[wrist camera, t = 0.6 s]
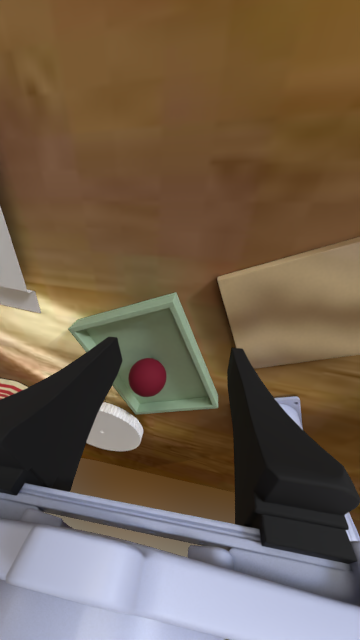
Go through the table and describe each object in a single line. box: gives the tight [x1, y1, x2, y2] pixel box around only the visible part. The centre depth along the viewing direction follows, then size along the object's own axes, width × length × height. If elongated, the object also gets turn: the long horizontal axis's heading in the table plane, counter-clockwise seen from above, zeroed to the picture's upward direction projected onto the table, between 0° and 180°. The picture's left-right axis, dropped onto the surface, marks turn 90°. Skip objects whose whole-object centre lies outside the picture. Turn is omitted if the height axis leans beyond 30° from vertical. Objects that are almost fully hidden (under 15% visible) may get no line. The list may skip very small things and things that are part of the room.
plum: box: [128, 358, 166, 397], centre depth 25 cm, size 5×5×5 cm
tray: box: [68, 293, 218, 414], centre depth 26 cm, size 17×13×2 cm
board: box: [217, 237, 360, 368], centre depth 20 cm, size 12×12×1 cm
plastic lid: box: [86, 402, 143, 451], centre depth 36 cm, size 14×14×2 cm
